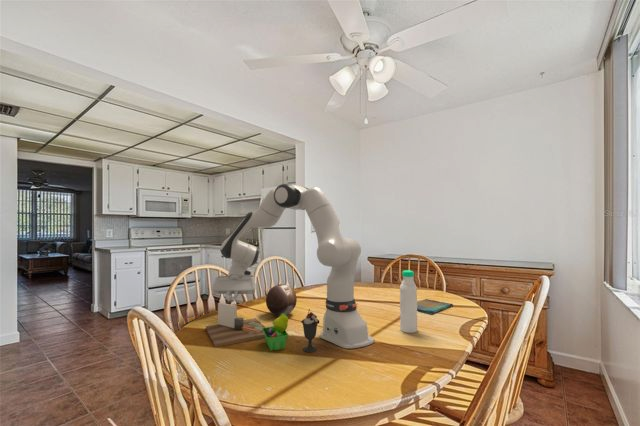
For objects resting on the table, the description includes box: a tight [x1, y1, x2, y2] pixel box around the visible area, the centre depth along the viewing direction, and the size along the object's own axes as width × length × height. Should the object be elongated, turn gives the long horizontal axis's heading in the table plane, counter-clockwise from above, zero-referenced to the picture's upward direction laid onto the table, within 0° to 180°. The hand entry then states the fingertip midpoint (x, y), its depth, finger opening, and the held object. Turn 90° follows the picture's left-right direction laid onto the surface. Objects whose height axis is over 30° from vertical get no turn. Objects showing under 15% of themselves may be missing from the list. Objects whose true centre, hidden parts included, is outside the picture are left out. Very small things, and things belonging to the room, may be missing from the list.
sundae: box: [300, 308, 320, 353], centre depth 110 cm, size 7×7×15 cm
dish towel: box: [417, 298, 454, 316], centre depth 164 cm, size 17×23×2 cm
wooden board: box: [205, 318, 266, 348], centre depth 127 cm, size 22×22×1 cm
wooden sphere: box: [265, 283, 297, 317], centre depth 151 cm, size 15×15×15 cm
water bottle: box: [399, 269, 419, 334], centre depth 129 cm, size 7×7×25 cm
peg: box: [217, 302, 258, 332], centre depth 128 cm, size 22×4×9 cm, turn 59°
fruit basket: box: [263, 313, 289, 351], centre depth 115 cm, size 11×9×11 cm
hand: (230, 301), depth 142 cm, fingers closed
